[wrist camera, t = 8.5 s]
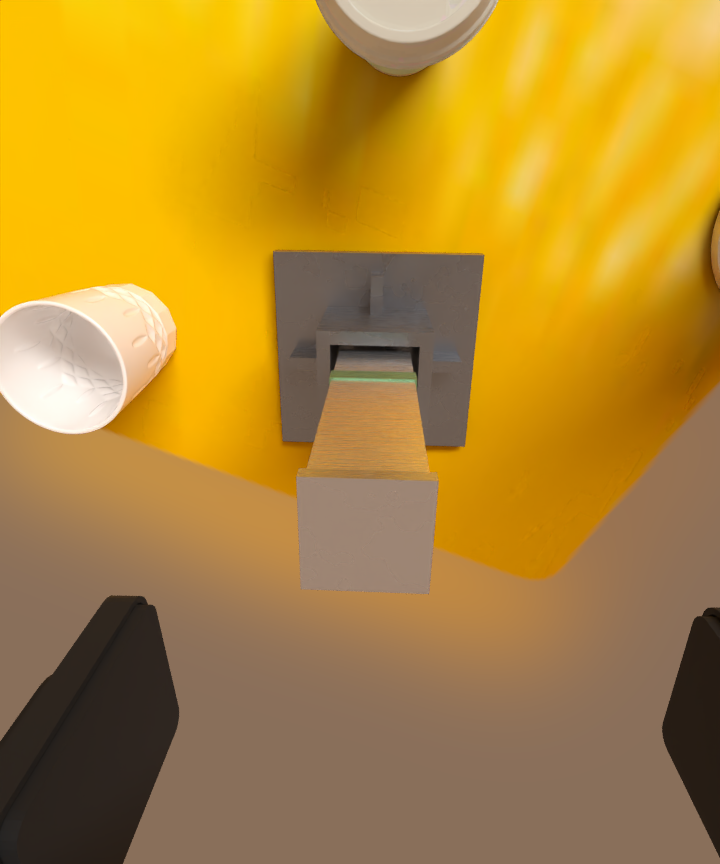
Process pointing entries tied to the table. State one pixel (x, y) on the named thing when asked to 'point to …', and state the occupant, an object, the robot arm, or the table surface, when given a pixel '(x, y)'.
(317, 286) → the stand base
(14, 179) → the table surface
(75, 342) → the white cup
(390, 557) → the post
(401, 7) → the coffee cup
